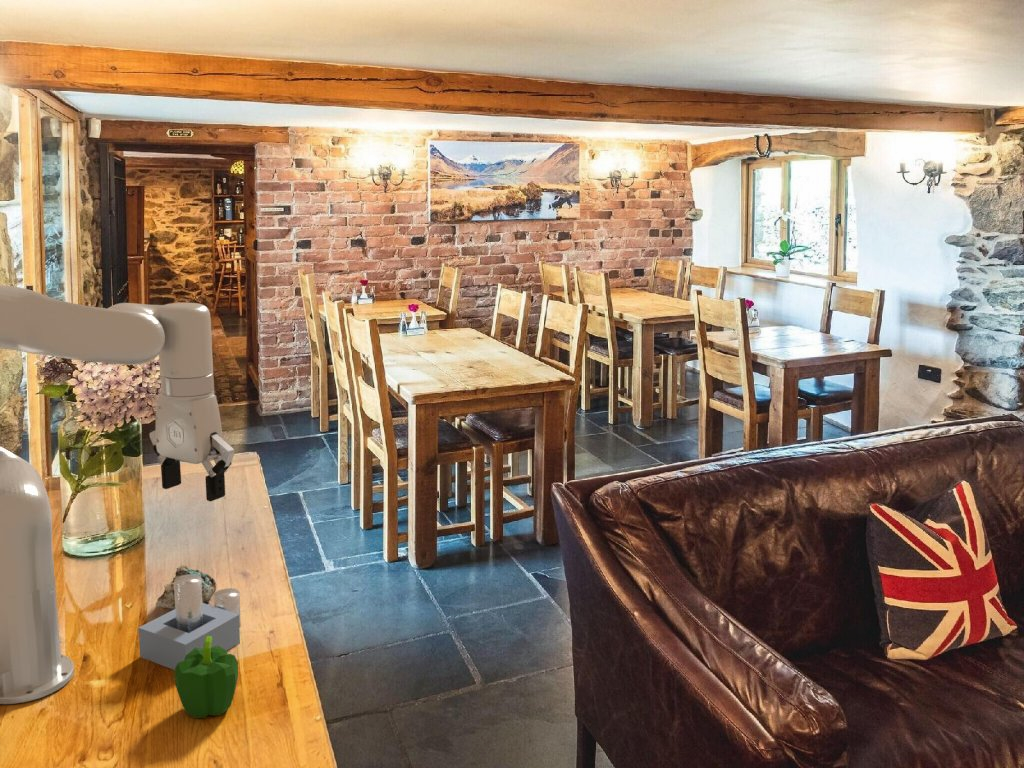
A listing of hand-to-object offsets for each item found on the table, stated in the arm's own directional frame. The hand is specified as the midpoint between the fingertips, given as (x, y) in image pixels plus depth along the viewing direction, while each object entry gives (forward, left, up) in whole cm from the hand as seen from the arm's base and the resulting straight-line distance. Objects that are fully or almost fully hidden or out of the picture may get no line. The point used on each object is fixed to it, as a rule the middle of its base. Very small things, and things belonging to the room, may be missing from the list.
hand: (193, 492), depth 136 cm
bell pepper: (-13, -15, -26) cm, 32 cm away
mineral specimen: (+8, +11, -26) cm, 29 cm away
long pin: (-3, -1, -25) cm, 25 cm away
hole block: (-3, -1, -25) cm, 25 cm away
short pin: (+6, 0, -25) cm, 26 cm away
